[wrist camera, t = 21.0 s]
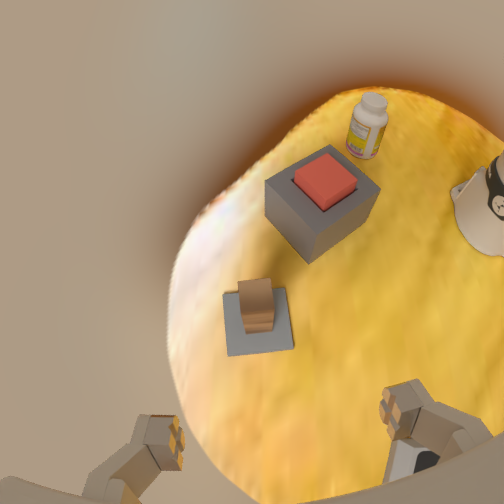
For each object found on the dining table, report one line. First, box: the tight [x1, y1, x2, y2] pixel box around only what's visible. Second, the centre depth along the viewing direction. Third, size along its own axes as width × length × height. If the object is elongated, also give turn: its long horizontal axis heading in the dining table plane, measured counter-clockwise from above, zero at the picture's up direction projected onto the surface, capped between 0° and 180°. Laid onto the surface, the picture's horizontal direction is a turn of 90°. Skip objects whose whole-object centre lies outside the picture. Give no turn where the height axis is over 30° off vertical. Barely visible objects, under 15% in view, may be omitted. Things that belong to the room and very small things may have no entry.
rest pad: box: [223, 288, 294, 356], centre depth 44 cm, size 9×9×1 cm
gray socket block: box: [265, 145, 381, 265], centre depth 48 cm, size 13×11×9 cm
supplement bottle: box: [346, 92, 388, 159], centre depth 53 cm, size 7×7×13 cm
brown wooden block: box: [238, 278, 275, 334], centre depth 39 cm, size 4×4×11 cm
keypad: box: [382, 438, 440, 484], centre depth 31 cm, size 10×4×15 cm
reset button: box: [294, 153, 358, 213], centre depth 44 cm, size 6×6×5 cm
